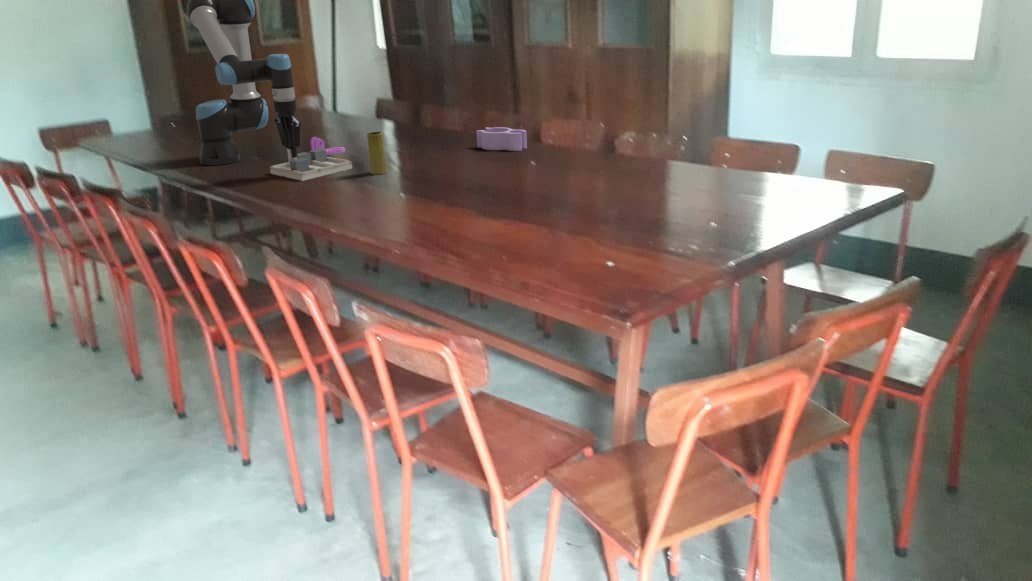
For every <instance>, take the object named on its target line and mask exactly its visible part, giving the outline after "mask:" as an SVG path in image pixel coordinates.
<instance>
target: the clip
mask: <svg viewBox="0 0 1032 581" xmlns="http://www.w3.org/2000/svg"><path fill="white" fill-rule="evenodd" d="M527 137H528V136H527V130H526V129H513V128H510V127H504V126H499V127H487V126H486V127H485V128H484V129H479V130H476V143H477V144H476V146H477V148H481V149H483V150H486V151H502V150H503V151H510V152H511V151H512V152H514V151H515V152H517V151H519V152H520V151H523V149H527V148H528V146H527V145H528V143H527V141H528V140H527Z"/></svg>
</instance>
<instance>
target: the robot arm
mask: <svg viewBox="0 0 1032 581" xmlns="http://www.w3.org/2000/svg"><path fill="white" fill-rule="evenodd" d="M255 8H256V7H255V3H254V0H188V1H187V4H186V11H187V12H186V13H187V17H188V19H189V21H190V23H191V24H192V26H194V27H195V28H197V29H198V31H199V33H200V36H201V37H202V38H203V41H204V43H205V44H206V46H207V48H208V50H209V52H210V54H211V55H212V57H213V59H214V60H215V62H216V63H217V64H216V65H215V67H214V68H215V69H214V70H215V75H216V80H217V82H218V83H219V84H220V85H222V86H232V93H231V95H230V96H229V99H230V101H229V102H227V101H226V99H221V98H220V99H212V100H208V101H205V102H202V103H199V104H198V105H196V107H195V119H196V121H197V126H198V131H199V137H200V142H201V145H200V152H199V162H200V164H201V165H203V166H220V165H223V166H224V165H229V164H233V163H236V162H239V161H240V160H241V156H240V155H241V154H240V152H239V150H238V148H237V146H236V144H235V143H234V141H233V136H232V133H238V132H244V131H245V132H246V131H255V130H259V129H263V128H265V127H266V126H267V125H268V121H269V108H268V105H267V101H266V99H265V98H262V96H261V94H260V93H259V91H257V88H256V83H260V82H261V83H262V82H269V81H270V85H271V87H270V88H271V94H272V99H273V100H274V101H273V107H274V108H273V109H274V111H275V112H276V113H277V118H274V123H275V124H276V128H277V130H278V131H277V132H278V135H279V137H280V142H281V145H282V146H283V147H285V149H286V152H287V157H288V162H289V161H291V160H296V159H297V154H298V153H297V152H298V151H297V149H298V148H299V147H301V146H300V144H301V141H300V140H301V139H300V138H301V137H300V136H301V130H300V129H301V125H302V122H301V120H297V117H296V113H295V112H296V111H297V108H298V107H297V101H296V100H295V99H296V94H295V93H296V92H295V87H294V81H293V80H294V79H293V73H292V63H291V60H290V56H289V55H288V54H287V53H272V54H269V55H267V57H262V58H259V59H252V58H253V57H252V50H251V46H250V44H251V43H250V38H249V36H250V35H249V30H248V28H249V26H250V25H251V24H252V21H251V19H252V18H254V17H255V15H256V13H255V12H256V10H255ZM289 166H290V162H289Z"/></svg>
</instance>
